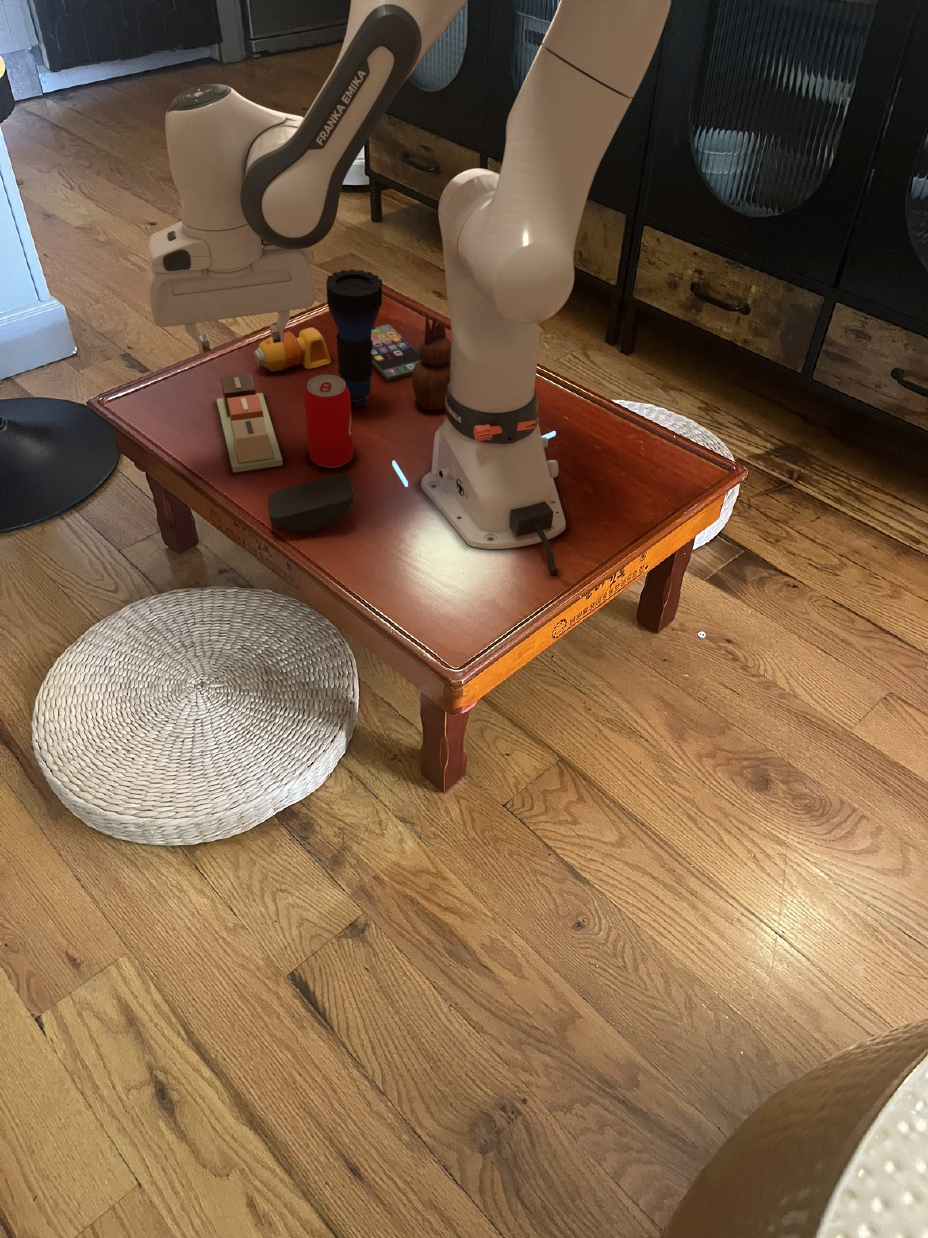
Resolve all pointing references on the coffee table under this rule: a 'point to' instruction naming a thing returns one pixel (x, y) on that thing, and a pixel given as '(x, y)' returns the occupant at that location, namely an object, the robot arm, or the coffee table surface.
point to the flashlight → (354, 326)
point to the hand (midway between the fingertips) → (241, 345)
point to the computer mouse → (311, 504)
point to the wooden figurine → (432, 368)
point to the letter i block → (251, 439)
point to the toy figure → (293, 351)
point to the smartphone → (392, 353)
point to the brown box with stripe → (237, 387)
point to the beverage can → (329, 421)
